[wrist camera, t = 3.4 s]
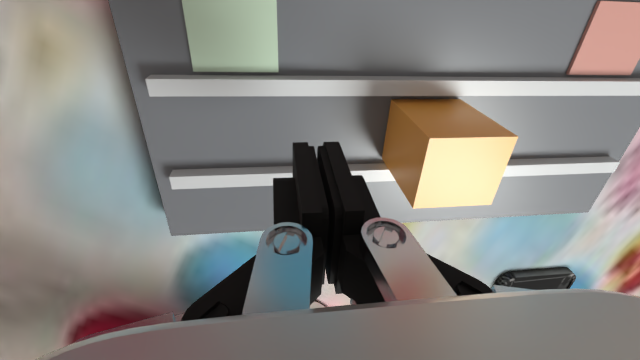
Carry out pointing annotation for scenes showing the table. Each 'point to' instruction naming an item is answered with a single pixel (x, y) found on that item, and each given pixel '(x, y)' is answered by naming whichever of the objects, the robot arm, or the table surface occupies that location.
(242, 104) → the switch panel
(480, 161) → the orange block
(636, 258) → the table surface
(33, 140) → the table surface
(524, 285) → the phone
